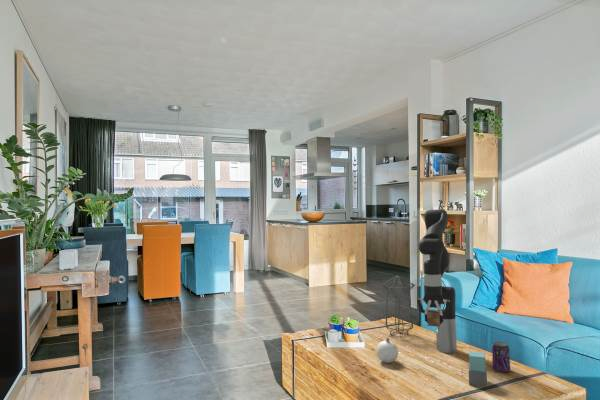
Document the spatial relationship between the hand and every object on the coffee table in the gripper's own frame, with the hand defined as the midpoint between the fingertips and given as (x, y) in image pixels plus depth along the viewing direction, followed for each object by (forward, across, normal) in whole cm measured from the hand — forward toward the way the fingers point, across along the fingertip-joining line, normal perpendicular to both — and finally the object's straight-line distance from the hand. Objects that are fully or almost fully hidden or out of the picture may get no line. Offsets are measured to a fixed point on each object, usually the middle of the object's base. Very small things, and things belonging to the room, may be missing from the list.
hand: (434, 322), depth 183 cm
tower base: (+24, +17, +1) cm, 30 cm away
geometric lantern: (+25, -26, +60) cm, 70 cm away
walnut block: (+1, 0, 0) cm, 1 cm away
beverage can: (+25, +27, +19) cm, 41 cm away
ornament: (+25, -24, +13) cm, 37 cm away
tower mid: (+18, +17, +1) cm, 25 cm away
